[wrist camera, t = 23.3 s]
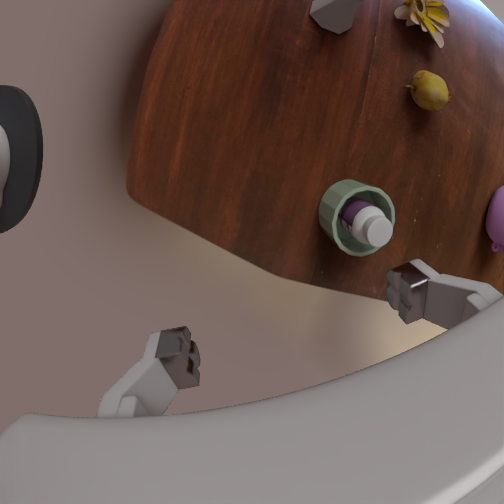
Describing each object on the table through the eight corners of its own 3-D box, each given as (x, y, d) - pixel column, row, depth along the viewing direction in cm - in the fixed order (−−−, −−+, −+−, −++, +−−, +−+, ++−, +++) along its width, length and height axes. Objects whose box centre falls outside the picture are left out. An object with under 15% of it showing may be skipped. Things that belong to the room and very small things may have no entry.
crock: (323, 248, 44) (336, 264, 38) (313, 186, 40) (327, 194, 34) (377, 233, 44) (395, 246, 38) (371, 174, 40) (392, 180, 34)
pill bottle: (328, 219, 41) (354, 242, 33) (344, 189, 40) (376, 204, 31) (354, 233, 43) (383, 258, 34) (369, 205, 41) (403, 223, 32)
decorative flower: (430, 61, 31) (460, 39, 21) (378, 19, 30) (399, -11, 20) (451, 25, 28) (476, 5, 18) (406, -11, 27) (425, -36, 17)
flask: (322, -10, 27) (346, -37, 18) (359, 16, 29) (391, -5, 20) (300, 15, 29) (322, -13, 20) (340, 41, 31) (371, 21, 22)
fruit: (416, 107, 30) (459, 122, 31) (421, 64, 26) (465, 84, 27) (392, 99, 36) (435, 112, 37) (397, 61, 32) (440, 78, 33)
